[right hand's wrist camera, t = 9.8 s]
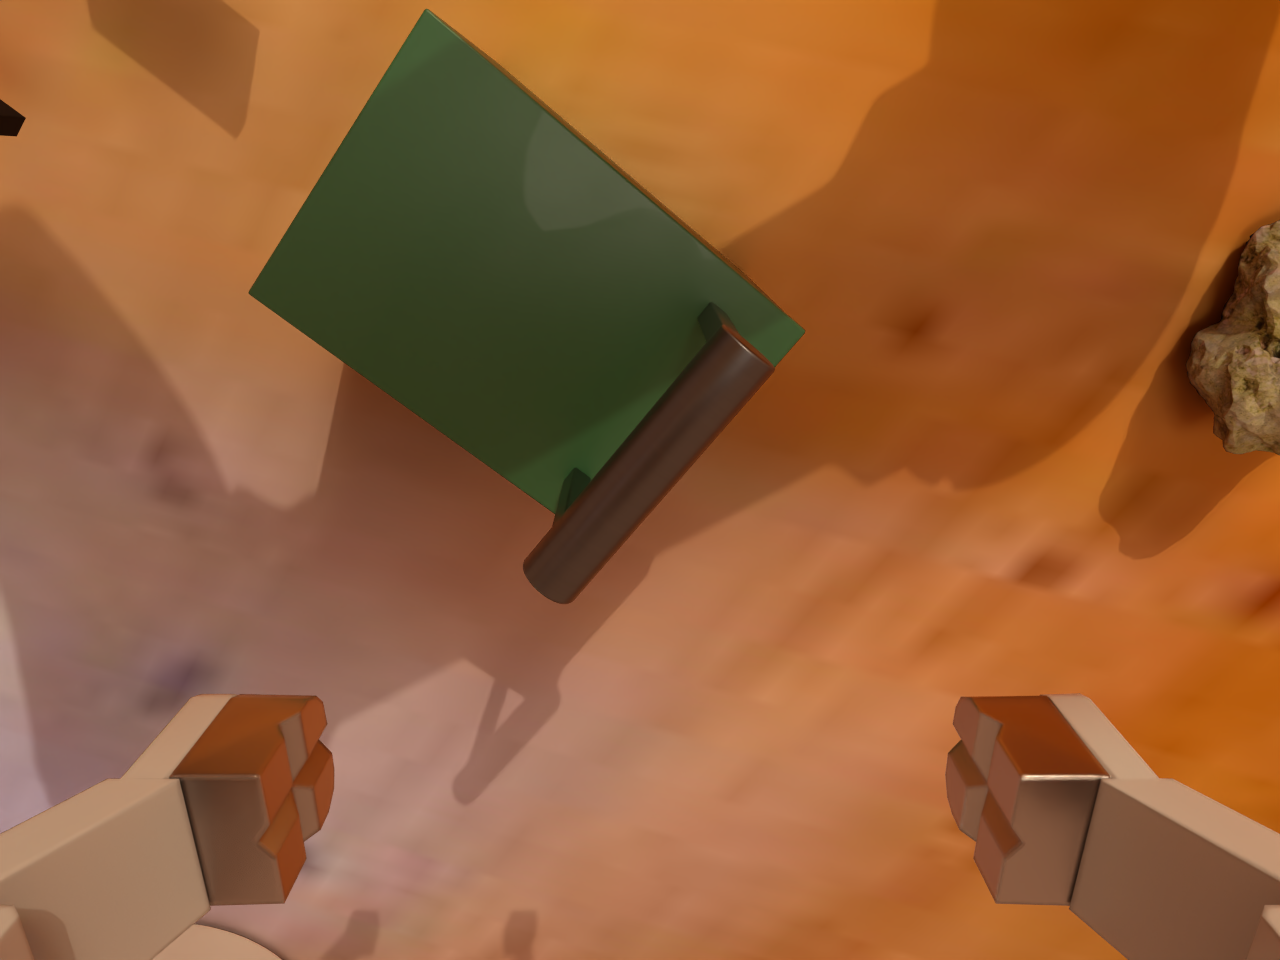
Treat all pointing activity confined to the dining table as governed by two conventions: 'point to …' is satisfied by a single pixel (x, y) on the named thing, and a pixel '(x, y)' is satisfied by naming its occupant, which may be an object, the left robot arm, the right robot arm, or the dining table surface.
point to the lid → (522, 299)
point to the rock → (1245, 352)
